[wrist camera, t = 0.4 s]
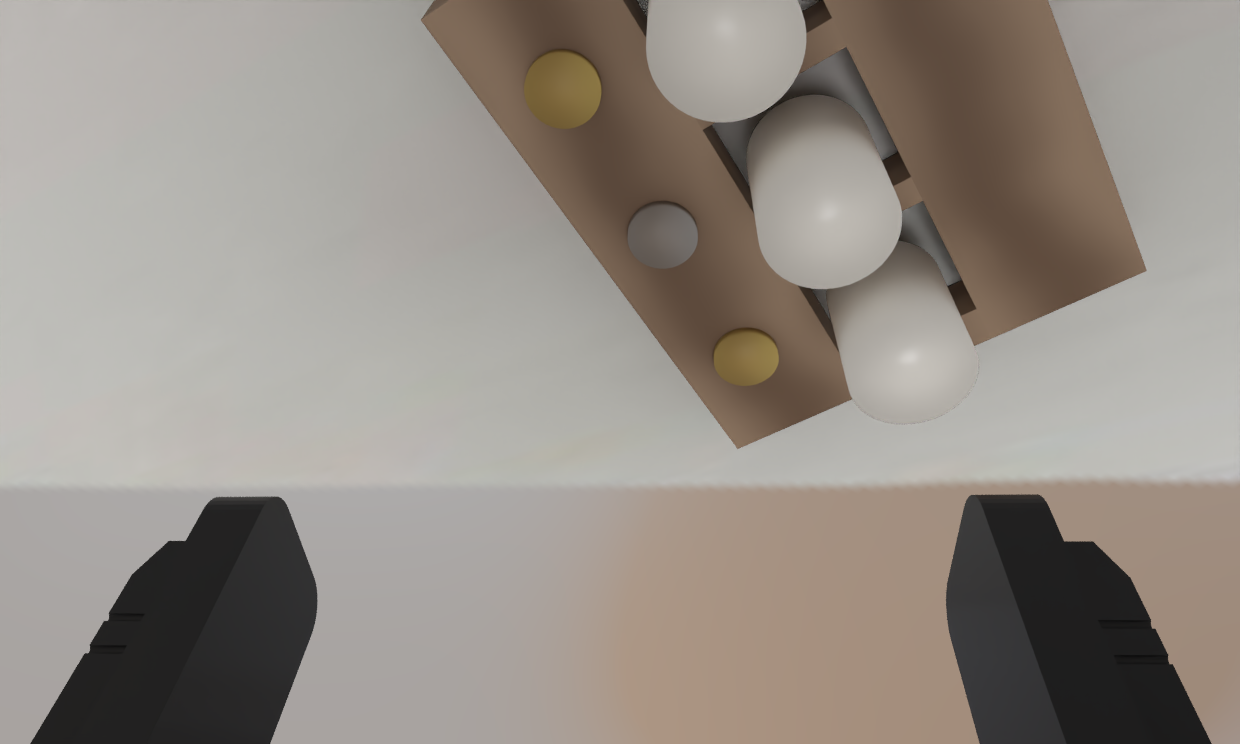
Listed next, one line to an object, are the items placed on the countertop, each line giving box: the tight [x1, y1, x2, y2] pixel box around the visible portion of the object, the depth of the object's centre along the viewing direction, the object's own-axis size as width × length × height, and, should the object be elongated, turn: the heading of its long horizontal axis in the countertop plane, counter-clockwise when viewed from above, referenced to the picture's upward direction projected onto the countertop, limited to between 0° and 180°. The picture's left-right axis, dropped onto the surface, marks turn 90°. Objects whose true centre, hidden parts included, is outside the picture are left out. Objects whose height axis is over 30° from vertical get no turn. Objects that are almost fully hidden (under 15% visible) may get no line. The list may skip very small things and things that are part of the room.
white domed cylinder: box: [646, 0, 806, 123], centre depth 26 cm, size 4×4×5 cm
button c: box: [826, 241, 979, 424], centre depth 32 cm, size 4×4×5 cm
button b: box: [746, 95, 902, 289], centre depth 29 cm, size 4×4×5 cm
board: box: [421, 0, 1147, 449], centre depth 31 cm, size 16×20×2 cm
